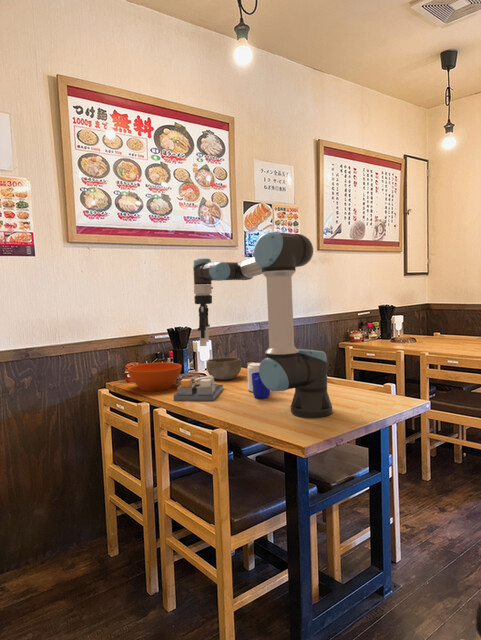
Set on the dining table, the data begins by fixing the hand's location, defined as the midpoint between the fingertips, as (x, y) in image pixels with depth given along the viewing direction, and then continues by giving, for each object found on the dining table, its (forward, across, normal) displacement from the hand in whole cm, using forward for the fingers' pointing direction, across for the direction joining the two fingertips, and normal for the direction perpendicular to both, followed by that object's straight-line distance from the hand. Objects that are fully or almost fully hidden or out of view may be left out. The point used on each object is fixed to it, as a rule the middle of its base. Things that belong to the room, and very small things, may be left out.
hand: (204, 343), depth 199 cm
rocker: (+17, +9, +2) cm, 19 cm away
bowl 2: (+23, +35, -7) cm, 42 cm away
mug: (+22, -9, -24) cm, 34 cm away
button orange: (+18, -5, +8) cm, 20 cm away
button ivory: (+18, -6, -1) cm, 19 cm away
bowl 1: (+23, +17, +25) cm, 38 cm away
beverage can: (+22, +5, -23) cm, 32 cm away
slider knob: (+20, +2, -2) cm, 20 cm away
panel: (+22, +1, +3) cm, 23 cm away
